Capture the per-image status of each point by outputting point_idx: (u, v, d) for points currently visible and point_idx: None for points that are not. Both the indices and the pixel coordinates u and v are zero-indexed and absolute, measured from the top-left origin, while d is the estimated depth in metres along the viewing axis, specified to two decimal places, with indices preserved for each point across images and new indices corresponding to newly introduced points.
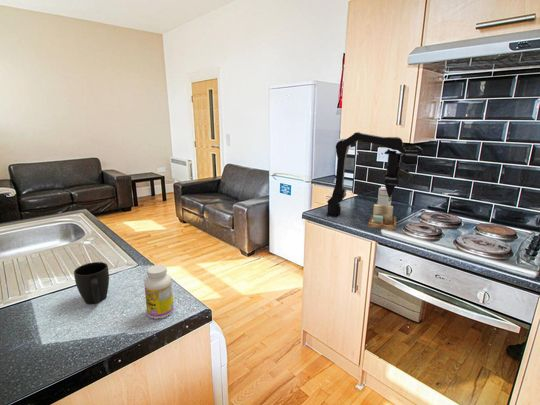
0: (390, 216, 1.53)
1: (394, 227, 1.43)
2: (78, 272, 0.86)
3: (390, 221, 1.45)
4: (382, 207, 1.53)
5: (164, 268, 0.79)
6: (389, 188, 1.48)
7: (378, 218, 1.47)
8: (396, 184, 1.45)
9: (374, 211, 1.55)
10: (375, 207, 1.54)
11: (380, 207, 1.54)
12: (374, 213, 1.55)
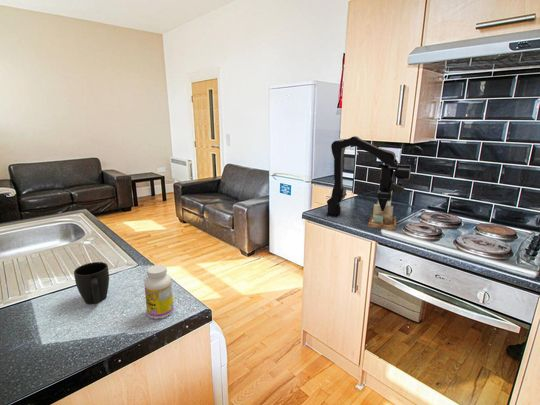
0: (390, 216, 1.53)
1: (394, 227, 1.43)
2: (78, 272, 0.86)
3: (390, 221, 1.45)
4: None
5: (164, 268, 0.79)
6: (382, 202, 1.48)
7: (378, 218, 1.47)
8: None
9: (374, 211, 1.55)
10: (375, 207, 1.54)
11: (380, 207, 1.54)
12: (374, 213, 1.55)
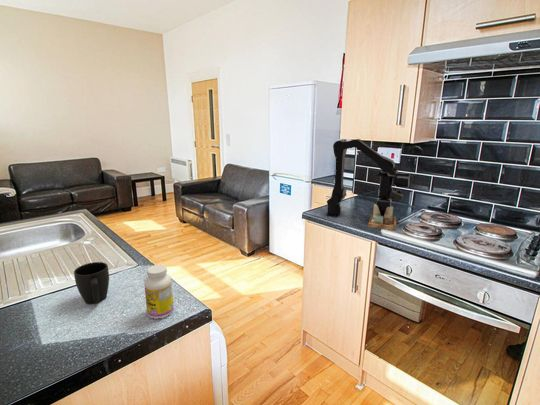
0: (390, 216, 1.53)
1: (394, 227, 1.43)
2: (78, 272, 0.86)
3: (390, 221, 1.45)
4: None
5: (164, 268, 0.79)
6: (382, 208, 1.52)
7: (378, 218, 1.47)
8: None
9: (374, 211, 1.55)
10: (375, 207, 1.54)
11: None
12: (374, 213, 1.55)
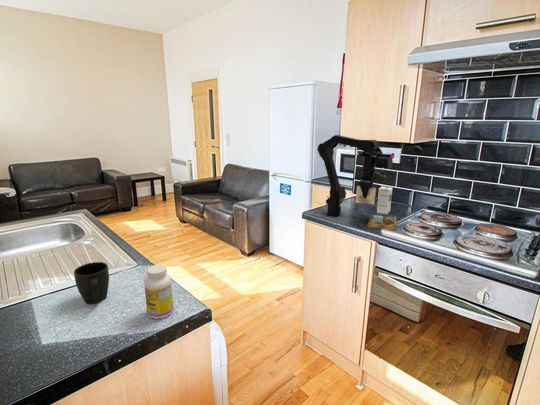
0: (373, 197, 1.51)
1: (394, 227, 1.43)
2: (78, 272, 0.86)
3: (390, 221, 1.45)
4: None
5: (164, 268, 0.79)
6: (364, 189, 1.50)
7: (378, 218, 1.47)
8: None
9: (357, 193, 1.53)
10: (358, 188, 1.52)
11: None
12: (357, 195, 1.53)
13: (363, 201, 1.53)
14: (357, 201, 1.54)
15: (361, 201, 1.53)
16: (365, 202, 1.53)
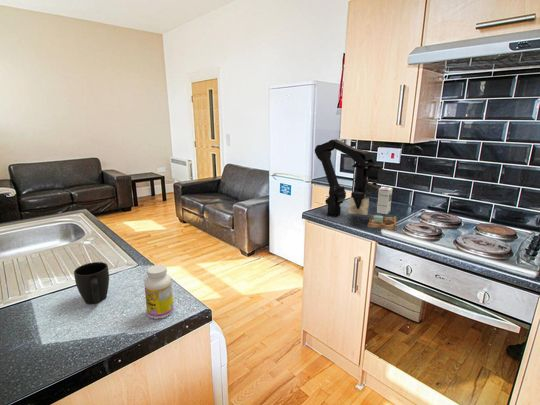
0: (366, 208, 1.52)
1: (394, 227, 1.43)
2: (78, 272, 0.86)
3: (390, 221, 1.45)
4: None
5: (164, 268, 0.79)
6: (357, 200, 1.52)
7: (378, 218, 1.47)
8: None
9: (350, 203, 1.55)
10: (351, 199, 1.54)
11: None
12: (350, 205, 1.55)
13: (356, 211, 1.55)
14: (350, 211, 1.56)
15: (354, 211, 1.55)
16: (358, 212, 1.54)
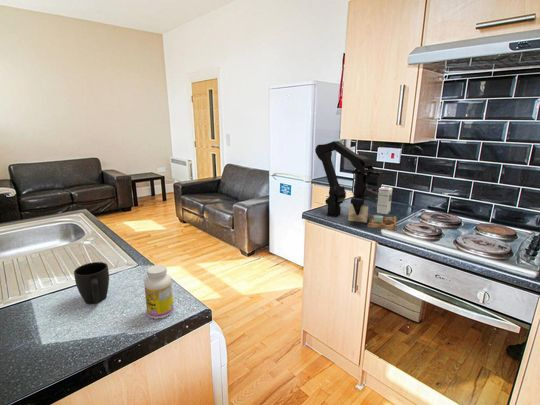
0: (365, 216, 1.53)
1: (394, 227, 1.43)
2: (78, 272, 0.86)
3: (390, 221, 1.45)
4: None
5: (164, 268, 0.79)
6: (356, 207, 1.52)
7: (378, 218, 1.47)
8: None
9: (349, 211, 1.56)
10: (350, 207, 1.55)
11: None
12: (349, 213, 1.56)
13: (356, 219, 1.55)
14: (350, 219, 1.57)
15: (354, 219, 1.56)
16: (358, 220, 1.55)
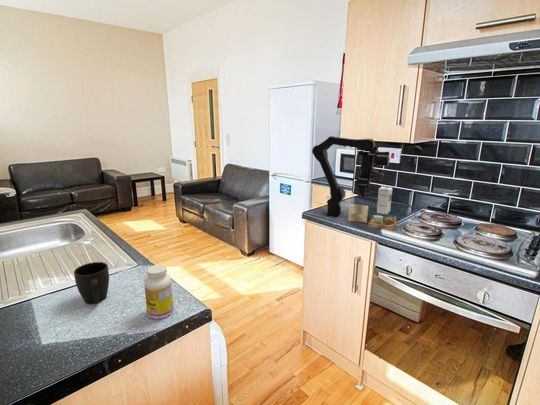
0: (365, 216, 1.53)
1: (394, 227, 1.43)
2: (78, 272, 0.86)
3: (390, 221, 1.45)
4: (357, 207, 1.54)
5: (164, 268, 0.79)
6: (361, 188, 1.52)
7: (378, 218, 1.47)
8: None
9: (349, 211, 1.56)
10: (350, 207, 1.55)
11: (355, 207, 1.54)
12: (350, 213, 1.56)
13: (356, 219, 1.55)
14: (350, 219, 1.57)
15: (354, 219, 1.56)
16: (358, 220, 1.55)
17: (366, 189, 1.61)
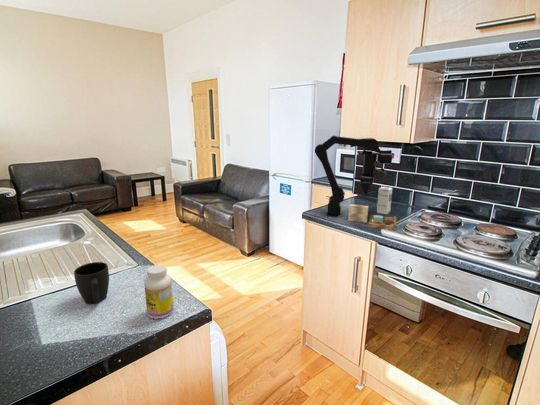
0: (365, 216, 1.53)
1: (394, 227, 1.43)
2: (78, 272, 0.86)
3: (390, 221, 1.45)
4: (357, 207, 1.54)
5: (164, 268, 0.79)
6: (365, 186, 1.55)
7: (378, 218, 1.47)
8: None
9: (349, 211, 1.56)
10: (350, 207, 1.55)
11: (355, 207, 1.54)
12: (350, 213, 1.56)
13: (356, 219, 1.55)
14: (350, 219, 1.57)
15: (354, 219, 1.56)
16: (358, 220, 1.55)
17: (368, 187, 1.65)
